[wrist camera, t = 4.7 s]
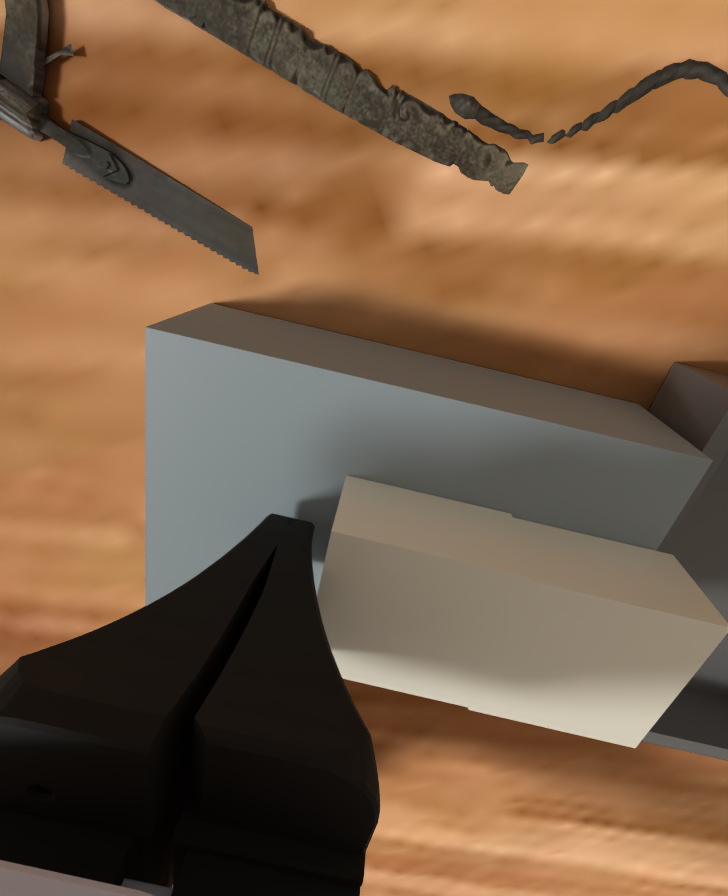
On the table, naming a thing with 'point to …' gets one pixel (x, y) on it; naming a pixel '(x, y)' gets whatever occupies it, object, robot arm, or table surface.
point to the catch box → (700, 554)
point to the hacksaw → (300, 62)
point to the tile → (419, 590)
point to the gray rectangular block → (378, 440)
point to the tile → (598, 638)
